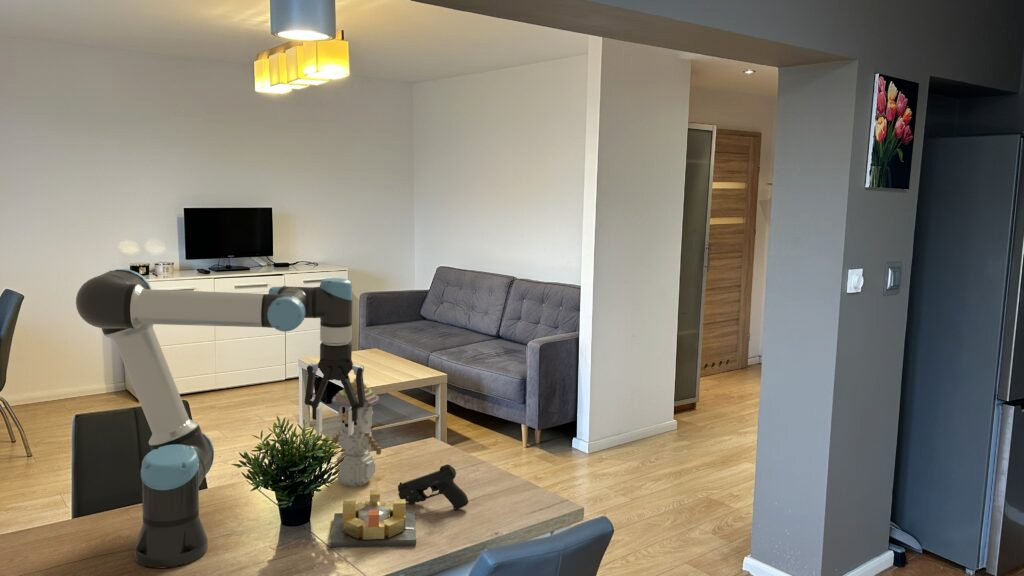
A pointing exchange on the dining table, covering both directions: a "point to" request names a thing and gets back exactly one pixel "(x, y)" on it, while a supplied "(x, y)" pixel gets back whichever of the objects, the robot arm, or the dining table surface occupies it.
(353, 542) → the base plate
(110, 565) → the dining table surface
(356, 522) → the ring nut
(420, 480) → the handgun
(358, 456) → the toy
